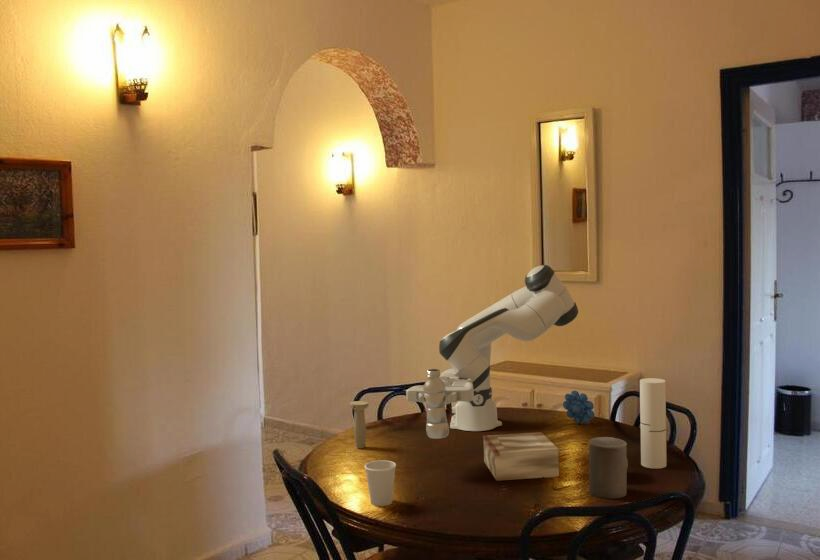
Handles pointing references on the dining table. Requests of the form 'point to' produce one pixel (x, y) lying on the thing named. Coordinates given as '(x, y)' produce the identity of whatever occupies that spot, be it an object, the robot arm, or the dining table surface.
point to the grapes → (578, 407)
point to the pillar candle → (608, 467)
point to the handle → (359, 422)
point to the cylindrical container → (653, 422)
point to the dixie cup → (380, 481)
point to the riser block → (521, 456)
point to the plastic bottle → (435, 405)
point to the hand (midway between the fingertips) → (434, 399)
